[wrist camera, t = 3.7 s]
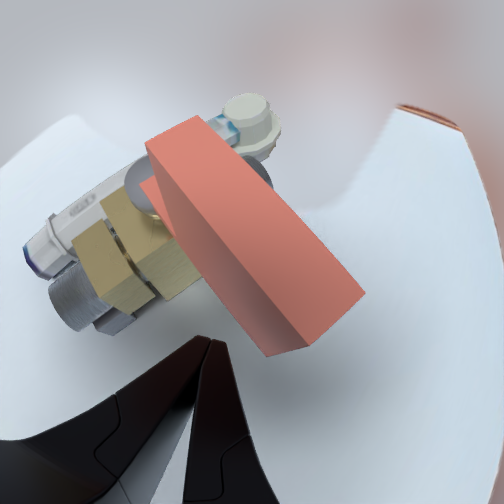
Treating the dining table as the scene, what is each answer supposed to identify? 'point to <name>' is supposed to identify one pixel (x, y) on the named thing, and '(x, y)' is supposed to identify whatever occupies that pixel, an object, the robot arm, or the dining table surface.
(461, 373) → the dining table surface
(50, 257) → the white flashlight
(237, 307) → the lever
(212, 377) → the robot arm
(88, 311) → the valve
